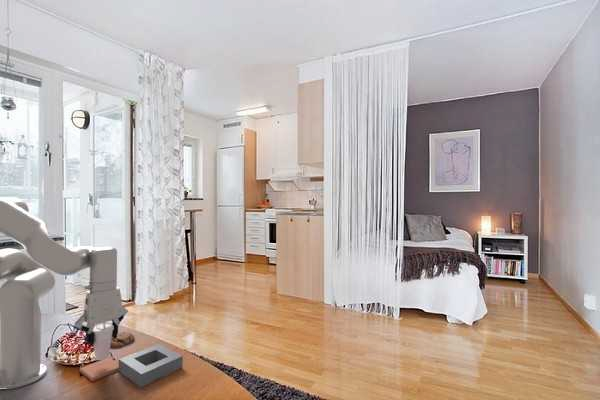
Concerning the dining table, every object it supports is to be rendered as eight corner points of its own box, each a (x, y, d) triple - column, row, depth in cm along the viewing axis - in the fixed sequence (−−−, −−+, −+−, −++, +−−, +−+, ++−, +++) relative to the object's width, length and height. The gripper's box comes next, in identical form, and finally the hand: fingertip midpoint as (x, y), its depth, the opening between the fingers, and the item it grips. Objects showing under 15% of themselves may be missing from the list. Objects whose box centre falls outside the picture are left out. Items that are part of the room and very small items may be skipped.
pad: (91, 381, 98) (92, 378, 98) (79, 371, 103) (79, 368, 103) (122, 368, 105) (122, 365, 105) (109, 360, 110) (109, 357, 110)
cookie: (139, 341, 126) (139, 333, 126) (110, 351, 117) (111, 343, 117) (126, 334, 131) (126, 327, 131) (98, 344, 122) (98, 336, 122)
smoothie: (105, 362, 101) (106, 318, 101) (85, 361, 101) (86, 317, 101) (117, 352, 107) (118, 311, 107) (98, 352, 107) (99, 310, 107)
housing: (141, 387, 96) (141, 374, 95) (118, 371, 104) (118, 359, 104) (182, 367, 107) (182, 355, 107) (158, 354, 115) (159, 343, 115)
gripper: (77, 294, 95) (76, 354, 95) (135, 282, 109) (134, 334, 109) (67, 289, 99) (66, 347, 99) (124, 278, 113) (124, 328, 113)
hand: (102, 340), depth 104 cm, fingers closed on smoothie, 6 cm apart
